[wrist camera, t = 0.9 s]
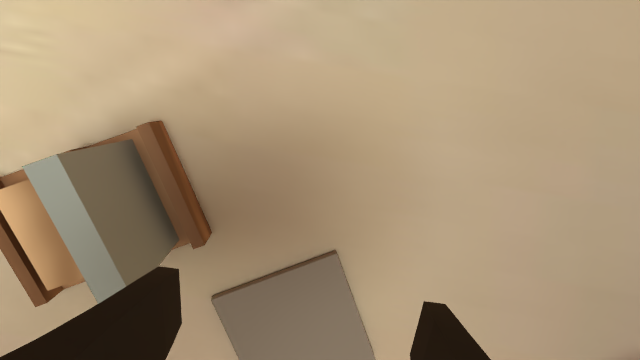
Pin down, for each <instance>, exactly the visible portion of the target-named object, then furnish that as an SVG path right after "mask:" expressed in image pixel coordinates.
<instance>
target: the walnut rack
mask: <svg viewBox="0 0 640 360" xmlns="http://www.w3.org/2000/svg"><path fill="white" fill-rule="evenodd" d="M130 139H132V140H133V142H134V144H135V146H136V148H137V151H138V153H139V155H140V157H141V159H142V161H143V163H144V165H145V168H146V170H147V172H148V174H149V176H150V178H151V180H152V182H153V184H154V187H155V189H156V191H157V193H158V195H159V197H160V199H161V201H162V204H163V206H164V208H165V210H166V212H167V214H168V216H169V218H170V220H171V223H172V225H173V227H174V229H175V231H176V233H177V235H178V237H179V241H178V242H177V243H176V245H175V246H174V247H173V248H172V249H175V248H178V247H180V246H183V245H186V244H189V243H191V245H192V247H193V249H195V248H198V247H201V246H203V245H205V244H206V242H207V240H208V238H209V237H210V235H211V233H212V232H211V230H210V227H209V225H208V223H207V221H206V219H205V216H204V214H203V212H202V210H201V207H200V205H199V203H198V201H197V198H196V196H195V194H194V192H193V189H192V187H191V185H190V183H189V181H188V178H187V176H186V174H185V172H184V169H183V167H182V165H181V163H180V160H179V158H178V156H177V154H176V151H175V149H174V147H173V145H172V143H171V140H170V138H169V136H168V134H167V131H166V129H165V127H164V125H163V122H162V121H156V122H148V123H145V124H142V125H140V126H137V129H136V130H133V131H130V132H127V133H124V134H121V135H119V136H116V137H113V138H110V139H107V140H105V141H102V142H99V143H96V144H93V145H91V146H88V147H83V148H78V149H73V150H69V151H67V152H71V151H76V150H81V149H85V148H90V147H95V146H100V145H105V144H110V143H115V142H120V141H125V140H130ZM64 153H66V152H64ZM28 179H29V178H28V176H27V175H26V173H25V171H24V169H23V170H20V171H18V172H15V173H12V174H9V175H6V176H4V177H1V178H0V189H3V188H6V187H8V186H11V185H14V184H17V183H20V182H22V181H25V180H28ZM0 249H1V251H2V252H3V254H4V256H5V257H6V259H7V261H8V262H9V264H10V266H11V267H12V269H13V271H14V272H15V274H16V276H17V277H18V279H19V281H20V282H21V284H22V286H23V287H24V289H25V291H26V292H27V294H28V296H29V297H30V299H31V301H32V302H33V304H34V306H35V307H37V306H40V305H42V304H45V303H47V302H49V301H50V300H51V299H52V298H53V297H55V296H56V295H57V294H58V293H60V292H61V291H62V290H63V289H65V288H68V287H71V286H74V285H76V284H79V283H82V282H85V279H84V278H81V279H79V280H76V281H73V282H71V283H68V284H65V285H62V286H60V287H57V288H54V289H51V290H49V291H48V290H47V289H46V287H45V285H44V284H43V282H42V280H41V279H40V277H39V275H38V273H37V272H36V270H35V268H34V267H33V265H32V263H31V262H30V260H29V258H28V256H27V255H26V253H25V251H24V250H23V248H22V246H21V244H20V243H19V241H18V239H17V238H16V236H15V234H14V233H13V231H12V229H11V227H10V226H9V224H8V222H7V221H6V219H5V217H4V215H3V214H2V212H1V210H0Z"/></svg>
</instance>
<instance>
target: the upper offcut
mask: <svg viewBox="0 0 640 360" xmlns="http://www.w3.org/2000/svg"><path fill="white" fill-rule="evenodd" d="M0 210H1V212H2V214H3V215H4V217H5V219H6V221H7V222H8V224H9V226H10V227H11V229H12V231H13V233H14V234H15V236H16V238H17V239H18V241H19V243H20V244H21V246H22V248H23V250H24V251H25V253H26V255H27V256H28V258H29V260H30V262H31V263H32V265H33V267H34V268H35V270H36V272H37V273H38V275H39V277H40V279H41V280H42V282H43V284H44V285H45V287H46V289H47V290H48V291H49V290H51V289H54V288H57V287H60V286H62V285H65V284H68V283H71V282H73V281H76V280H79V279H81V278H84V277H83V275H82V274H81V272H80V270H79V268H78V266H77V265H76V263H75V261H74V259H73V257H72V256H71V254H70V252H69V250H68V248H67V247H66V245H65V243H64V241H63V239H62V238H61V236H60V234H59V232H58V230H57V229H56V227H55V225H54V223H53V221H52V220H51V218H50V216H49V214H48V212H47V211H46V209H45V207H44V205H43V203H42V202H41V200H40V198H39V196H38V194H37V193H36V191H35V189H34V187H33V185H32V184H31V182H30V180H29V179H28V180H25V181H22V182H20V183H17V184H14V185H11V186H8V187H6V188H3V189H0Z"/></svg>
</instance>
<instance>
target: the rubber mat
mask: <svg viewBox="0 0 640 360" xmlns="http://www.w3.org/2000/svg"><path fill="white" fill-rule="evenodd" d="M211 301H212V303H213V305H214V307H215V309H216V312H217V314H218V316H219V318H220V320H221V322H222V324H223V326H224V329H225V331H226V333H227V335H228V337H229V339H230V341H231V343H232V346H233V348H234V350H235V352H236V354H237V356H238V358H239V360H376V359H375V357H374V354H373V351H372V348H371V346H370V343H369V340H368V337H367V335H366V332H365V329H364V326H363V324H362V321H361V318H360V316H359V313H358V310H357V307H356V305H355V302H354V299H353V296H352V294H351V291H350V288H349V285H348V283H347V280H346V277H345V274H344V272H343V269H342V266H341V263H340V261H339V258H338V255H337V253H336V250H335V251H333V252H330V253H327V254H325V255H322V256H319V257H316V258H314V259H311V260H308V261H306V262H303V263H300V264H298V265H295V266H292V267H289V268H287V269H284V270H281V271H279V272H276V273H273V274H271V275H268V276H265V277H262V278H260V279H257V280H254V281H252V282H249V283H246V284H244V285H241V286H238V287H235V288H233V289H230V290H227V291H225V292H222V293H219V294H217V295H214V296H212V299H211Z"/></svg>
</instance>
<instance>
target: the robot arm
mask: <svg viewBox="0 0 640 360" xmlns="http://www.w3.org/2000/svg"><path fill="white" fill-rule="evenodd" d="M181 324H182V318H181V300H180V282H179V269H174V268H166V267H157V268H155V269H153V270H152V271H150V272H148V273H147V274H145V275H144V276H142V277H140V278H139V279H137V280H136V281H134V282H132V283H131V284H129V285H128V286H126V287H125V288H123V289H121V290H120V291H118V292H117V293H115V294H113V295H112V296H110V297H108V298H107V299H105V300H104V301H102V302H100V303H99V304H97V305H96V306H94V307H92V308H91V309H89V310H87V311H86V312H84V313H82V314H80V315H79V316H77V317H75V318H73V319H71V320H70V321H68V322H66V323H64V324H63V325H61V326H59V327H57V328H56V329H54V330H52V331H50V332H49V333H47V334H45V335H43V336H41V337H39V338H38V339H36V340H34V341H32V342H30V343H28V344H26V345H24V346H22V347H20V348H18V349H16V350H14V351H12V352H10V353H8V354H6V355H4V356H2V357H0V360H165V359H166V357H167V355H168V353H169V351H170V349H171V347H172V345H173V342H174V340H175V338H176V335H177V333H178V331H179V328H180V326H181ZM410 360H491V359H490V358H489V357H488V356H487V355H486V353H485V352H484V351H483V350H482V349H481V347H480V346H479V345H478V344H477V343H476V341H475V340H474V339H473V338H472V336H471V335H470V334H469V333H468V331H467V330H466V329H465V328H464V327H463V325H462V324H461V323H460V322H459V320H458V319H457V318H456V317H455V315H454V314H453V313H452V312H451V310H450V309H449V308H448V307H447V306H446V304H440V303H433V302H425V301H424V303H423V307H422V311H421V315H420V318H419V322H418V326H417V330H416V333H415V337H414V341H413V345H412V348H411V352H410Z"/></svg>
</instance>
